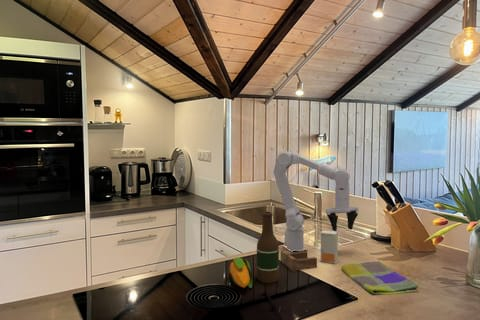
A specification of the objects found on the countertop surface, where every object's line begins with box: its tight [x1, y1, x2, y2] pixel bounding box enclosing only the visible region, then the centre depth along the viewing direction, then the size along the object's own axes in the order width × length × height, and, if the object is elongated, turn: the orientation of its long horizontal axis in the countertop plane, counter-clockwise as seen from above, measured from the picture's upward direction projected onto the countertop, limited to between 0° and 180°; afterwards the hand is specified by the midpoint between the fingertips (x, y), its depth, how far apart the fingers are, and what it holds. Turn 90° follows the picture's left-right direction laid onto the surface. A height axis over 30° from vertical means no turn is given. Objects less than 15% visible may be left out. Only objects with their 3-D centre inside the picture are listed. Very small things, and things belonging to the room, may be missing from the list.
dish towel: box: [341, 260, 420, 296], centre depth 128 cm, size 18×24×3 cm
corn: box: [229, 257, 254, 289], centre depth 126 cm, size 7×8×20 cm
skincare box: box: [320, 230, 339, 264], centre depth 147 cm, size 6×4×12 cm
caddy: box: [280, 249, 318, 272], centre depth 144 cm, size 12×10×4 cm
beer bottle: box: [256, 211, 280, 284], centre depth 129 cm, size 8×8×24 cm
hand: (342, 229), depth 156 cm, fingers open, 7 cm apart
